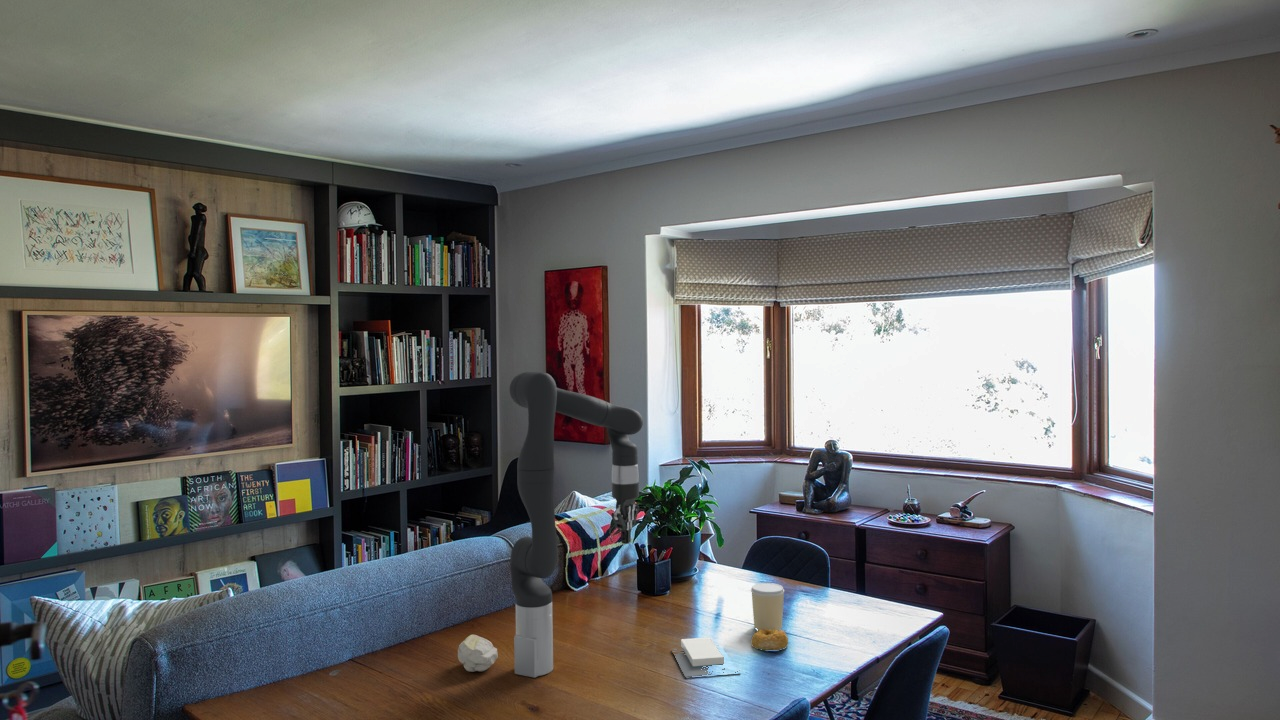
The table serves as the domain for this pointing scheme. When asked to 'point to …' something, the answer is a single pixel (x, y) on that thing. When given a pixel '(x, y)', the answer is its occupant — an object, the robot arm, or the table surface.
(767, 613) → the coffee cup
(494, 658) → the white rock
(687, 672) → the mat
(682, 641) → the tile
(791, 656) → the table surface
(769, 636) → the bagel
